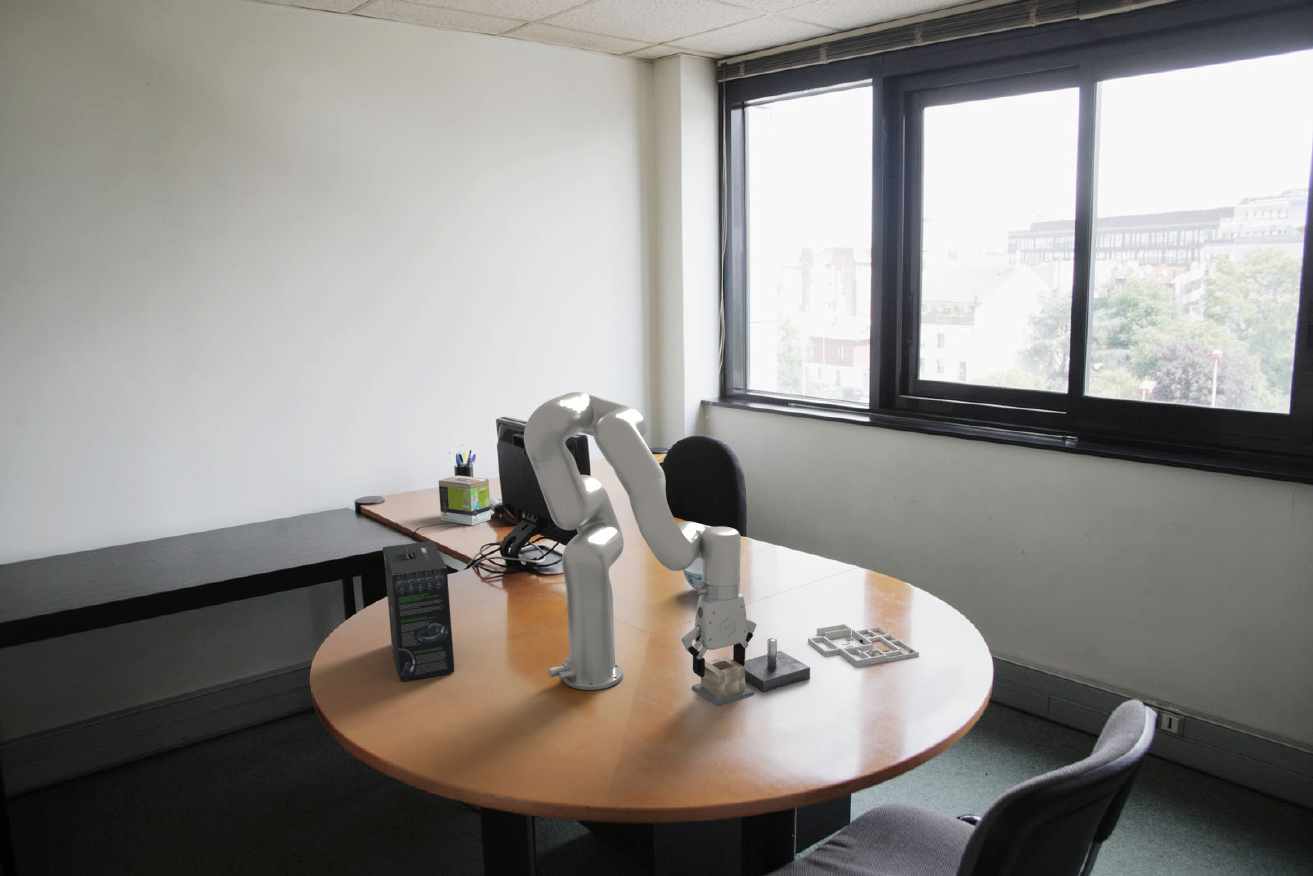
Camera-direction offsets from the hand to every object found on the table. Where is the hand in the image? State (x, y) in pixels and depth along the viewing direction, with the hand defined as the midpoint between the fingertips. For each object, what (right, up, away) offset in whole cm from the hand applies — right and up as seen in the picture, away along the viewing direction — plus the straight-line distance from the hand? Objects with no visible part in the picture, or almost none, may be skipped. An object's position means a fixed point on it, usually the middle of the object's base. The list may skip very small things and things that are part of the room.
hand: (719, 669), depth 185 cm
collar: (+1, -4, +1) cm, 4 cm away
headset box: (-65, -3, +20) cm, 68 cm away
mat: (+1, -5, +1) cm, 5 cm away
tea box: (-79, +18, +134) cm, 157 cm away
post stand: (+12, -3, +7) cm, 14 cm away
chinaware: (+2, +6, +57) cm, 57 cm away
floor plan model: (+30, -1, +20) cm, 36 cm away
